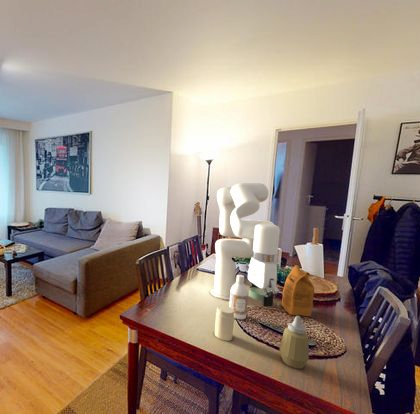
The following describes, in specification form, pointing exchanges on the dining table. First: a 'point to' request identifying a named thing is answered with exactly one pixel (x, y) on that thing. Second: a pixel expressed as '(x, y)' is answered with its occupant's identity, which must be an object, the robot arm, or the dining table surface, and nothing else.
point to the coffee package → (298, 293)
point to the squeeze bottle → (295, 344)
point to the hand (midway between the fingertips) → (260, 300)
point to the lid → (257, 293)
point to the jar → (224, 322)
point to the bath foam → (239, 298)
